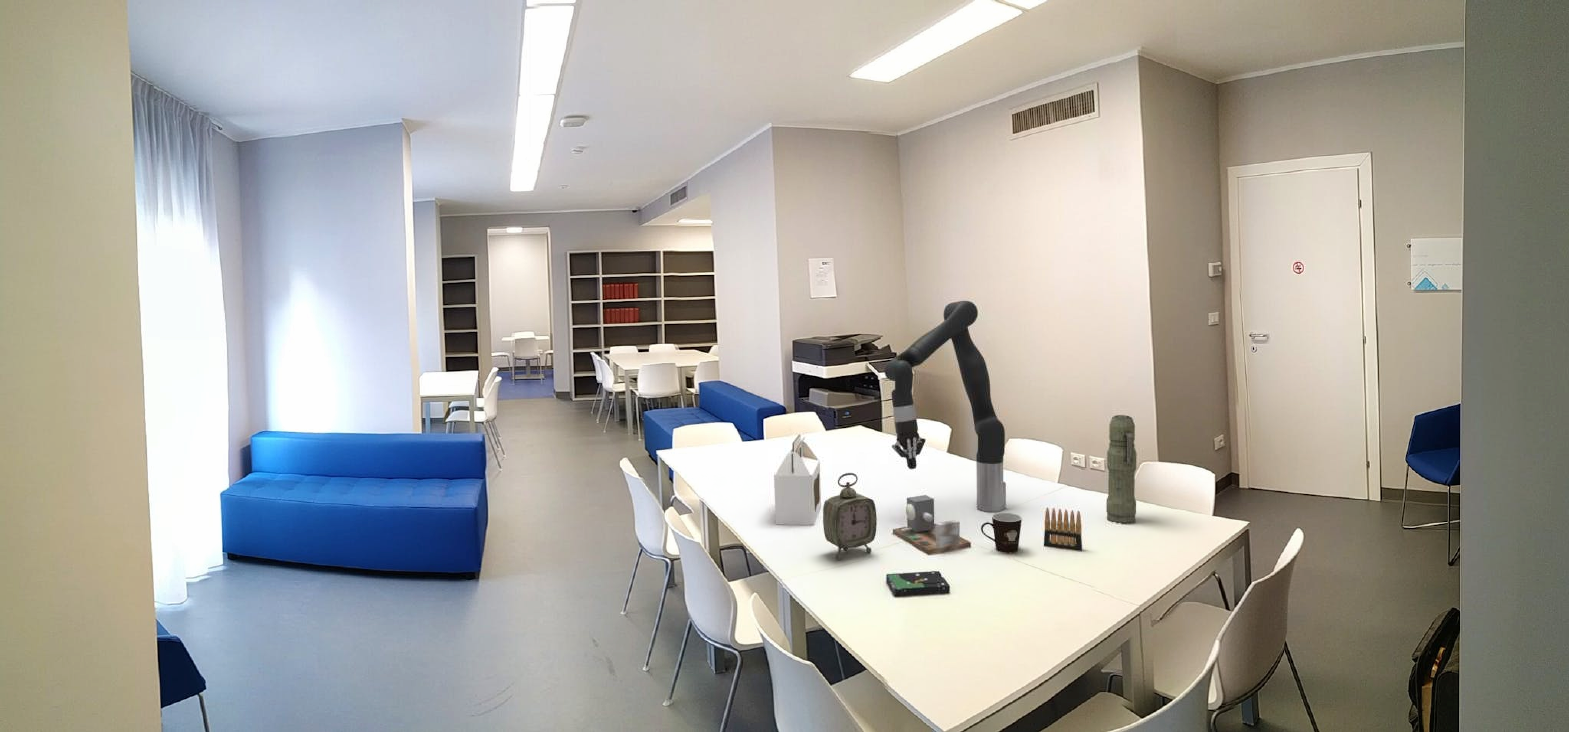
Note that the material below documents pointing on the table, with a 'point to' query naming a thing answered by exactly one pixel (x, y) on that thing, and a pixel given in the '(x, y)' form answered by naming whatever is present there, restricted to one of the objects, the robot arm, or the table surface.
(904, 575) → the disk drive
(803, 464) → the gable box
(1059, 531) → the ammunition clip
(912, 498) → the block
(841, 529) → the tabletop clock
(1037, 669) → the table surface
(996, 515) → the coffee mug
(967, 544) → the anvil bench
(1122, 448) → the thermos
